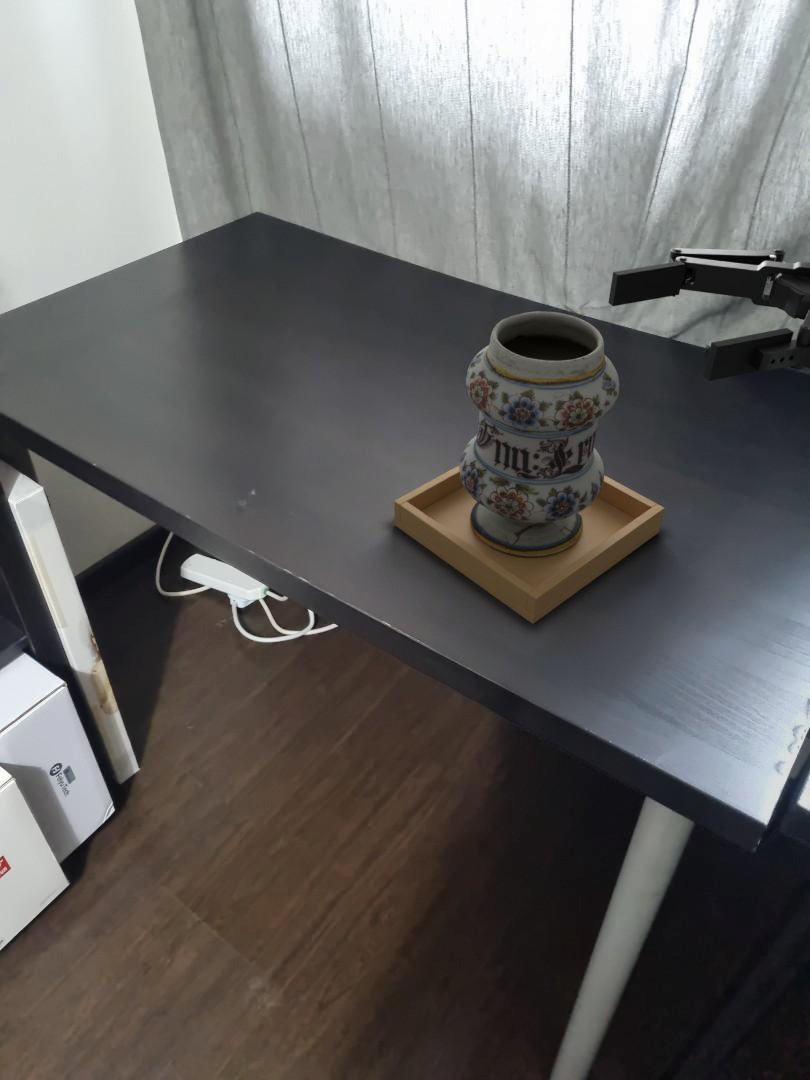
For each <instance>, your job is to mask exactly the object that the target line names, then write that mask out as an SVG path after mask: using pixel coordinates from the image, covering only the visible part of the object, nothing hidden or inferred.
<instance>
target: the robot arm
mask: <svg viewBox="0 0 810 1080" xmlns="http://www.w3.org/2000/svg"><path fill="white" fill-rule="evenodd" d="M785 256H786V250H784V249H782V248H769V249H761V250H760V249H759V250H750V249H749V250H748V249H747V250H746V249H717V248H716V249H714V248H684V247H673V248H671V249H670V252H669V257H668V262H665V263H660V264H654V265H648V266H642V267H636V268H630V269H629V268H628V269H623V270H618V271H617V270H616V271H613V272H612V275H611V276H612V277H611V283H610V291H609V297H608V304H609V305H610V306H612V307H617V306H623V305H628V304H635V303H641V302H645V301H652V300H658V299H663V298H669V297H676V296H679V295H680V293H681V290H683V291H689V292H699V293H704V294H705V293H706V294H714V295H720V296H729V297H736V298H737V297H738V298H743V299H750V300H751V303H752V304H753V305H755V306H760V307H762V306H763V307H770V308H776V309H779V310H781V311H783V312H784V313H786V315H787V316H789V317H791V318H792V319H793V320H797V319H799V320H802V321H803V322H802V324H800V325H799V328H798V331H797V334H796V338H795V339H793V336H794V333H795V331H793V330H792V329H790V328H788V327H785V328H779V329H774V330H767V331H764V332H763V331H762V332H758V333H754V334H753V333H752V334H748V335H743V336H738V337H732V338H727V339H723V340H717V341H716V340H715V341H712V342H710V347H709V350H708V355H707V359H706V363H705V367H704V372H703V375H702V377H703V378H704V379H706V380H707V381H708V382H711V381H715V380H717V381H718V380H721V379H726V378H730V377H735V376H740V375H746V374H751V373H754V372H769V371H773V370H778V369H780V370H781V369H784V368H791V369H792V370H799V371H800V370H805V368H806V369H810V262H807V261H797V262H794V263H792V262H791V263H790V262H785V261H784V260H785ZM770 282H772V284H771V288H770V291H769V293H768V294H765V288H766V285H768V284H770Z"/></svg>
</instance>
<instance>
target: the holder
mask: <svg viewBox="0 0 810 1080" xmlns="http://www.w3.org/2000/svg"><path fill="white" fill-rule="evenodd" d="M476 503H477V501H476V500H475V499H474V498H473V497H472V496H471V495H470V494H469V493H468V492H467V490H466V489H465V487H464V485H463V482H462V480H461V476H460V464H458V465H457V466H455V467H453V468H451V469H450V470H448V471H446V472H444V473H442V474H441V475H439V476H437V477H435V478H433V479H431V480H429V481H428V482H426V483H424V484H423V485H421V486H419V487H417V488H415V489H413V490H411V491H410V492H408V493H406V494H405V495H403V496H401V497H399V498H397V499H395V500H394V501H393V506H394V507H393V509H394V527H397V529H399V530H401V531H402V532H404V533H405V534H406V535H408V536H409V537H410V538H412V539H413V540H415V541H416V542H417V543H419V544H420V545H421V546H423V547H425V548H426V549H427V550H429V551H430V552H432V554H434V555H436V556H437V557H438V558H440V559H441V560H443V561H444V562H445V563H446V564H447V565H450V566H451V567H453V569H455V570H457V571H458V572H460V573H461V574H462V575H464V576H465V577H466V578H468V580H471V582H473V583H475V585H478V586H479V587H480V588H482V589H483V590H484V591H486V592H487V593H488V594H490V595H492V596H493V597H494V598H496V599H497V600H499V601H500V602H501V603H503V604H504V605H505V606H507V607H508V608H509V609H511V610H512V611H514V612H515V613H517V614H518V615H519V616H521V617H522V618H524V619H525V620H526V621H528V622H529V623H531V624H532V625H534V624H535V623H537V622H538V621H540V620H541V619H542V618H543V617H545V616H546V615H548V614H549V613H551V612H552V611H553V610H554V609H555V608H557V607H558V606H560V605H561V604H562V603H564V602H565V601H567V600H568V599H570V598H571V597H573V596H574V595H575V594H576V593H578V592H580V591H581V589H583V588H585V587H586V586H587V585H589V584H590V583H591V582H593V581H594V580H595V579H597V578H598V577H600V576H601V575H602V574H604V573H605V572H606V571H608V570H609V569H611V568H612V567H613V566H615V565H616V564H618V563H619V562H621V561H622V560H623V559H624V558H626V557H627V556H628V555H630V554H631V553H633V552H635V550H637V549H638V548H640V547H641V546H642V545H644V544H645V543H647V542H648V541H649V540H651V539H652V538H653V537H655V536H656V535H657V534H659V533H660V530H661V529H660V528H661V525H662V521H663V517H664V513H665V507H664V506H662V505H661V504H658V503H656V502H654V501H653V500H651V499H649V498H648V497H645V496H643V495H642V494H640V493H638V492H636V491H634V490H633V489H631V488H629V487H627V486H625V485H623V484H621V483H619V482H618V481H616V480H614V479H612V478H610V477H609V476H607V475H605V474H604V480H603V484H602V487H601V490H600V492H599V494H598V495H597V497H596V498H595V499H594V501H593V502H592V503H591V504H590V505H589V506H588V507H586V508H585V509H584V510H582V511H580V512H579V513H578V514H580V515H581V516H582V520H583V528H582V532H581V535H580V537H579V538H578V540H577V541H576V542H575V543H574V544H573V545H571V546H570V547H569V548H567V549H565V550H563V551H561V552H559V553H556V554H552V555H548V556H542V557H522V556H515V555H510V554H507V553H504V552H501V551H498V550H496V549H494V548H492V547H491V546H489V545H487V544H486V543H485V542H483V541H482V540H481V539H480V538H479V537H478V536H477V534H476V533H475V531H474V530H473V527H472V525H471V520H470V516H471V511H472V509H473V507H474V505H475V504H476Z"/></svg>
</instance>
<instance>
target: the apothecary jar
mask: <svg viewBox="0 0 810 1080" xmlns="http://www.w3.org/2000/svg"><path fill="white" fill-rule="evenodd" d="M465 380H466V381H465V383H466V384H465V385H466V391H467V394H468V396H469V399H470V400H471V402H472V403H473V405H474V406H475V407H476V408H477V409H478V410H479V414H478V423H477V424H478V425H477V430H476V431H477V432H476V435H475V436H473V437H472V438H471V439H470V441H469V442H468V443H467V444H466V445H465V448H464V449H463V451H462V453H461V456H460V460H459V465H460V476H461V480H462V482H463V485H464V487H465V489H466V490H467V492H468V493H469V494H470V495H471V496H472V497H473V498H474V499H475V500H476V501H477V503H476V504H475V505H474V507H473V509H472V511H471V516H470V520H471V525H472V527H473V530H474V531H475V533H476V534H477V536H478V537H479V538H480V539H481V540H482V541H483V542H485V543H486V544H487V545H489V546H491V547H492V548H494V549H496V550H498V551H501V552H504V553H507V554H510V555H515V556H522V557H542V556H548V555H552V554H556V553H559V552H561V551H563V550H565V549H567V548H569V547H570V546H571V545H573V544H574V543H575V542H576V541H577V540H578V538H579V537H580V535H581V532H582V528H583V520H582V516H581V515H580V514H578V513H579V512H580V511H582V510H584V509H585V508H586V507H588V506H589V505H590V504H591V503H592V502H593V501H594V499H595V498H596V497H597V495H598V494H599V492H600V490H601V487H602V484H603V480H604V475H605V468H604V467H605V466H604V463H603V460H602V457H601V455H600V454H599V452H598V450H597V449H596V448H595V443H596V437H597V431H598V425H599V421H600V420H601V419H603V418H604V417H605V416H606V415H607V414H608V413H609V412H610V411H611V410H613V407H614V406H615V404H616V403H617V400H618V398H619V395H620V378H619V374H618V371H617V369H616V367H615V366H614V364H613V362H612V361H611V360H610V358H608V356H607V355H606V354H605V341H604V338H603V336H602V334H601V332H600V331H599V330H598V328H596V327H595V326H594V325H592V324H591V323H590V322H588V321H586V320H584V319H582V318H580V317H576V316H574V315H571V314H566V313H563V312H557V311H556V312H555V311H529V312H523V313H518V314H517V313H516V314H513V315H511V316H507V317H505V318H503V319H501V320H499V322H497V323H496V324H495V326H494V327H493V329H492V331H491V334H490V340H489V344H488V345H487V346H485V347H484V348H482V349H481V350H480V351H479V352H478V353H477V354H476V355H475V356H474V358H473V359H472V360H471V361H470V364H469V366H468V368H467V372H466V377H465Z"/></svg>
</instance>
